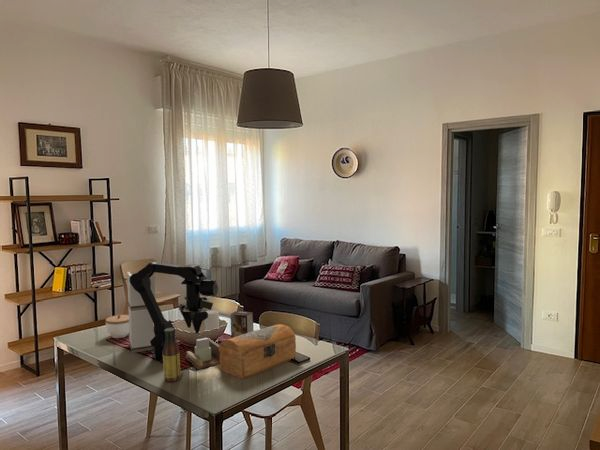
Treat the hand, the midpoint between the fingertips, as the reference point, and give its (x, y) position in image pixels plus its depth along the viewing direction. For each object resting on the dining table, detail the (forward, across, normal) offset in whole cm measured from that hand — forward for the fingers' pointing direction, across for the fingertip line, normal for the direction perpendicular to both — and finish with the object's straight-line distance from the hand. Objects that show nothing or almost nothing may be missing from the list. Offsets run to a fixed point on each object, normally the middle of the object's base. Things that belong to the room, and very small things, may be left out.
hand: (193, 330), depth 195 cm
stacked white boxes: (+14, +28, +13) cm, 34 cm away
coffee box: (+12, +2, -24) cm, 28 cm away
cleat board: (+13, -4, -4) cm, 14 cm away
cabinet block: (+12, -4, -3) cm, 13 cm away
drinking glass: (+13, +16, -16) cm, 25 cm away
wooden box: (+12, -21, -21) cm, 32 cm away
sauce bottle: (+13, -16, +14) cm, 25 cm away
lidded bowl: (+14, +52, +18) cm, 57 cm away
